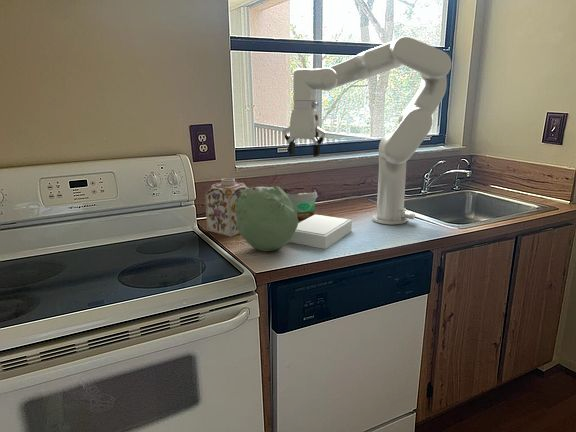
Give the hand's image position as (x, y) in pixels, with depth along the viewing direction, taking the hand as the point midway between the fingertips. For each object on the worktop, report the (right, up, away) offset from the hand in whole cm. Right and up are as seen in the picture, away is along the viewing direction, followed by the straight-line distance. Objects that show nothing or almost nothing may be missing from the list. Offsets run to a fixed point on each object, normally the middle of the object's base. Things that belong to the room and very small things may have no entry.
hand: (304, 155), depth 162 cm
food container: (0, -23, +7) cm, 24 cm away
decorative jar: (-26, -27, -5) cm, 38 cm away
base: (+5, -28, -13) cm, 31 cm away
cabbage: (-12, -32, -24) cm, 42 cm away
